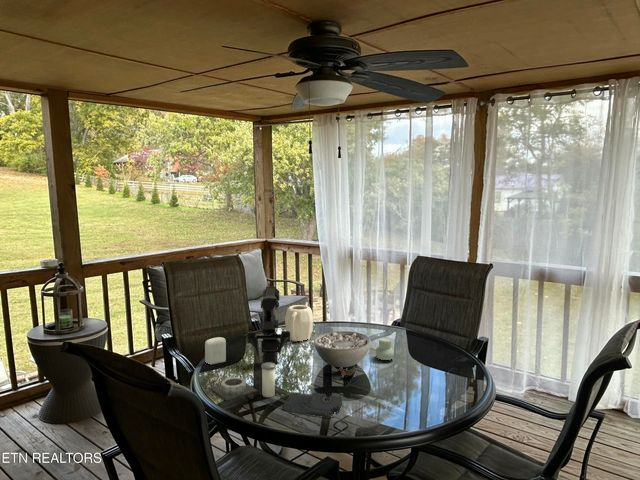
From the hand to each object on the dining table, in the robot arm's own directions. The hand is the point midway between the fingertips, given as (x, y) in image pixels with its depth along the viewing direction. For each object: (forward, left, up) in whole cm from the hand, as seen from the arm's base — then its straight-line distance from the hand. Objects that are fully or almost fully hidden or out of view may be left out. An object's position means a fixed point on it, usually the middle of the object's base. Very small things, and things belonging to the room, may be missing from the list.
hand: (268, 355), depth 188 cm
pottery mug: (-34, +10, -14) cm, 38 cm away
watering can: (-50, -43, -14) cm, 68 cm away
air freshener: (-63, +10, -14) cm, 65 cm away
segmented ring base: (+14, -5, -14) cm, 20 cm away
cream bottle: (+5, +7, -14) cm, 16 cm away
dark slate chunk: (-3, +27, -14) cm, 30 cm away
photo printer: (+5, -39, -14) cm, 42 cm away
